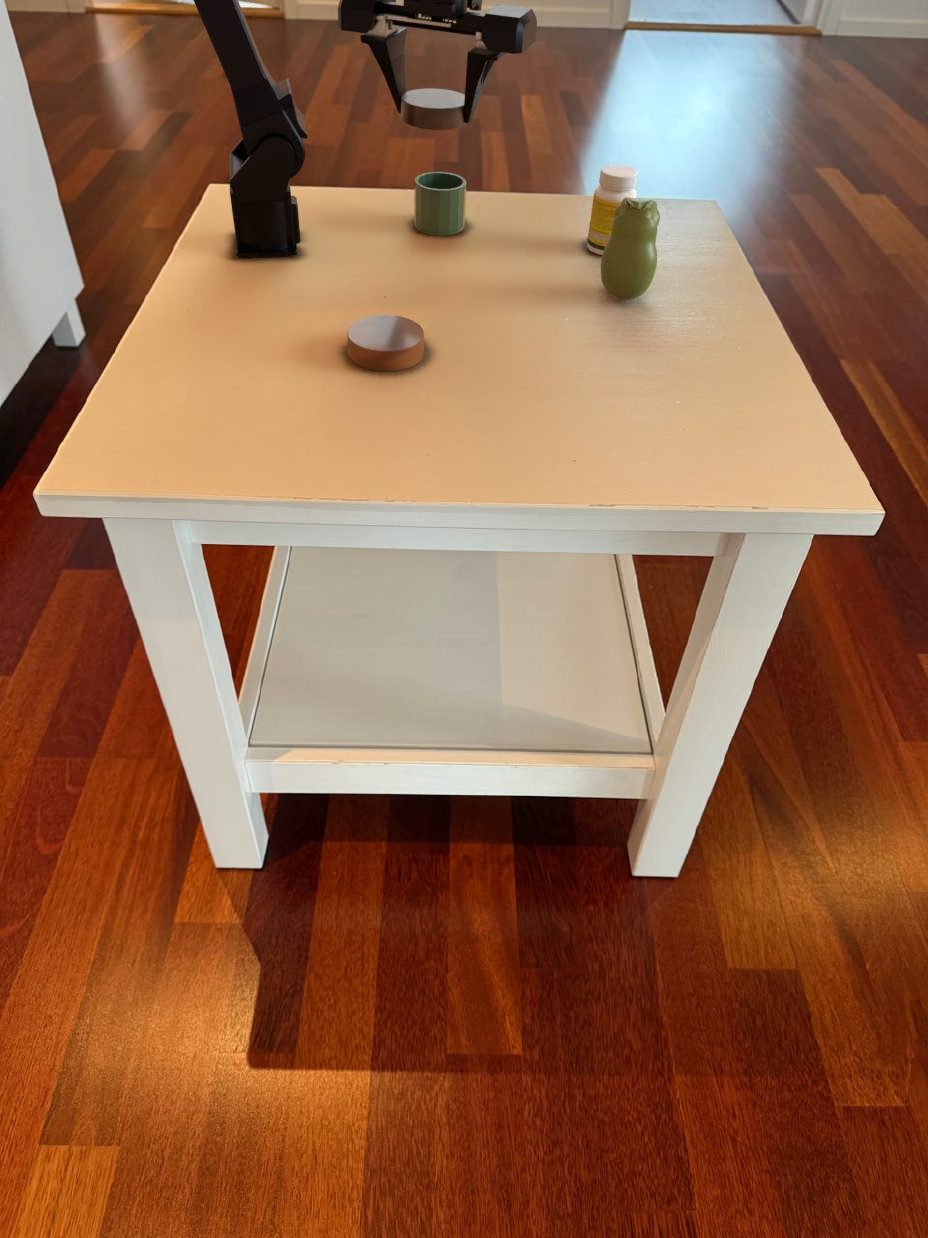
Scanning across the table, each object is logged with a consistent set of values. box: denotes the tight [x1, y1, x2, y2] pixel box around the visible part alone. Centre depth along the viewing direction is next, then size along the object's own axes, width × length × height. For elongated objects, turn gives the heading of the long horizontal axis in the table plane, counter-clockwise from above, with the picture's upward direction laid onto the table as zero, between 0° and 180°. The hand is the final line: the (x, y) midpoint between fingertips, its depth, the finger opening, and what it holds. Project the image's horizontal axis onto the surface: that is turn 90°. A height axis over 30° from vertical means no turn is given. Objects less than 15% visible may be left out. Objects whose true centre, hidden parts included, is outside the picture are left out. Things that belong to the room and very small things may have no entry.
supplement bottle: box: [586, 164, 639, 256], centre depth 101 cm, size 5×5×8 cm
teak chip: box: [346, 314, 425, 372], centre depth 84 cm, size 7×7×2 cm
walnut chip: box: [400, 87, 468, 131], centre depth 94 cm, size 7×7×2 cm
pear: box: [600, 197, 661, 301], centre depth 92 cm, size 6×5×10 cm
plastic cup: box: [413, 171, 468, 237], centre depth 105 cm, size 6×6×5 cm
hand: (434, 116), depth 95 cm, fingers closed on walnut chip, 7 cm apart
